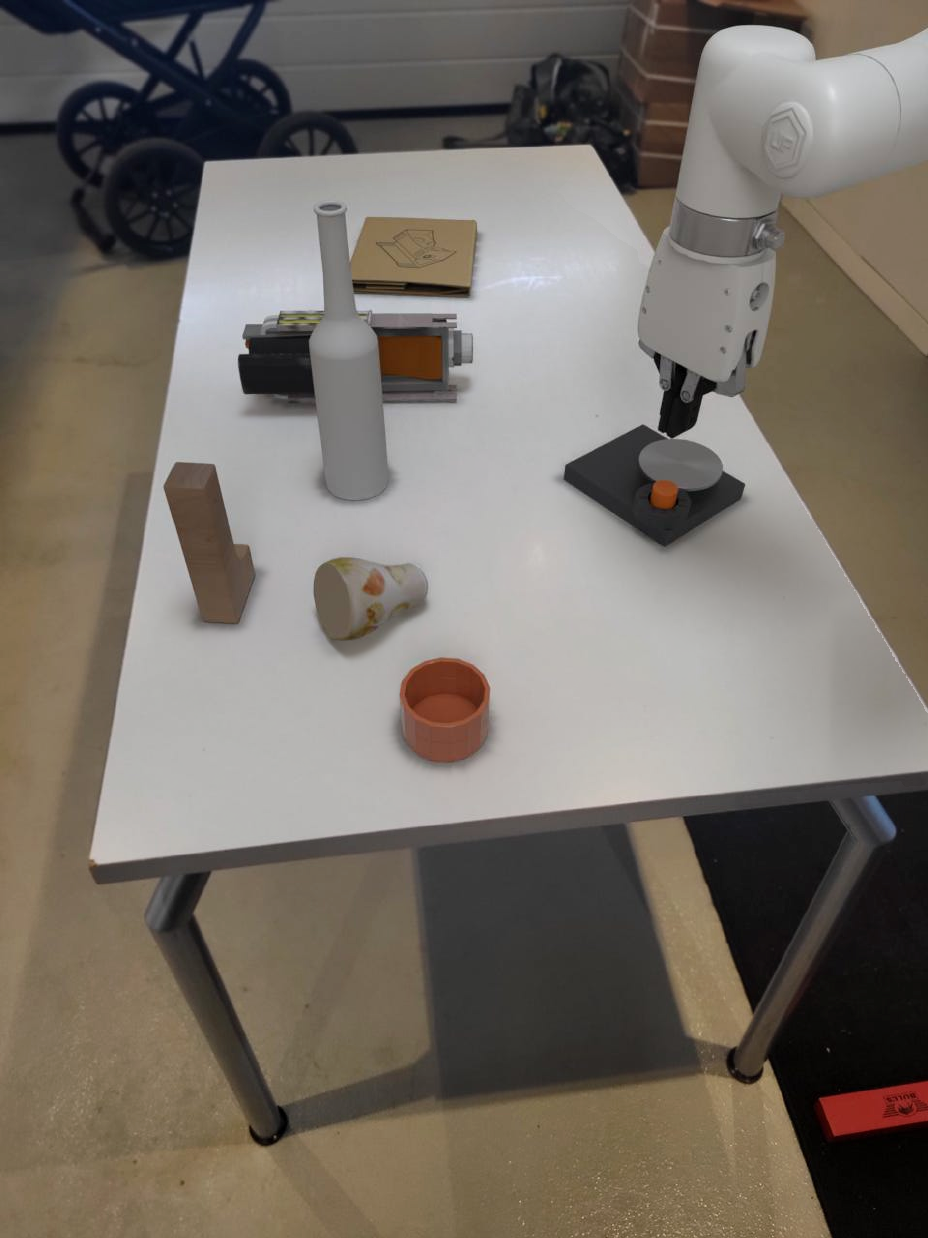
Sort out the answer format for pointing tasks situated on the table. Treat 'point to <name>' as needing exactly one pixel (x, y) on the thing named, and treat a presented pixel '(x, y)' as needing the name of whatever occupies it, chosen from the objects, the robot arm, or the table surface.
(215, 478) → the wooden block
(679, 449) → the brushed metal disc
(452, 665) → the cup
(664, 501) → the button
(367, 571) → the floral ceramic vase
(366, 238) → the box
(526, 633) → the table surface
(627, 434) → the scale
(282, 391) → the mechanical component
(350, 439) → the bottle
